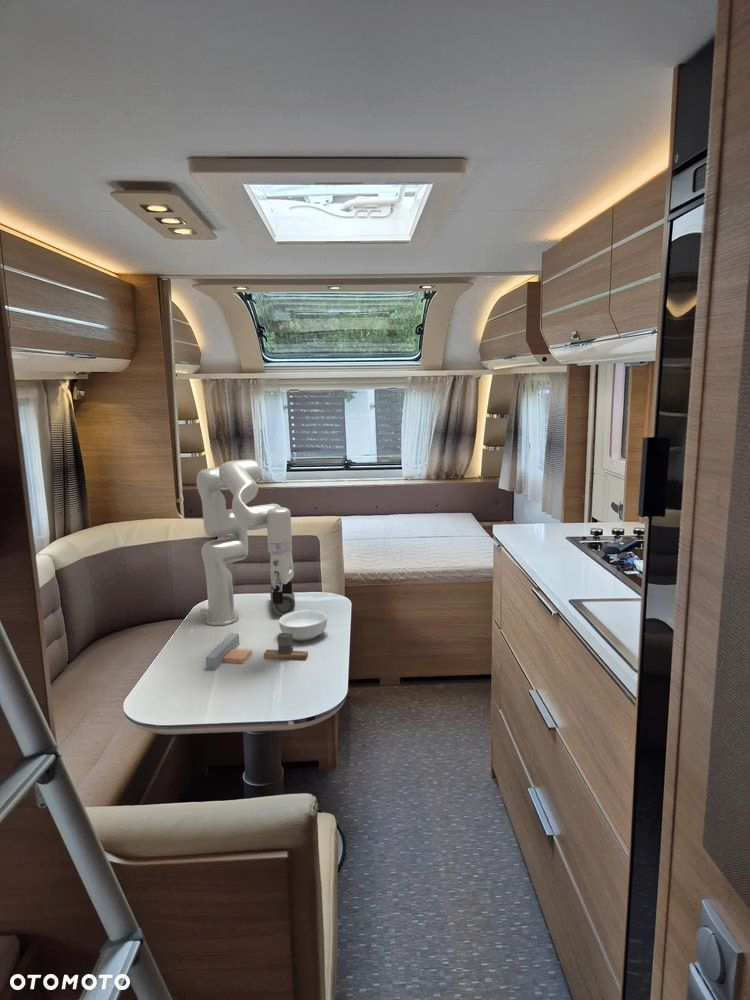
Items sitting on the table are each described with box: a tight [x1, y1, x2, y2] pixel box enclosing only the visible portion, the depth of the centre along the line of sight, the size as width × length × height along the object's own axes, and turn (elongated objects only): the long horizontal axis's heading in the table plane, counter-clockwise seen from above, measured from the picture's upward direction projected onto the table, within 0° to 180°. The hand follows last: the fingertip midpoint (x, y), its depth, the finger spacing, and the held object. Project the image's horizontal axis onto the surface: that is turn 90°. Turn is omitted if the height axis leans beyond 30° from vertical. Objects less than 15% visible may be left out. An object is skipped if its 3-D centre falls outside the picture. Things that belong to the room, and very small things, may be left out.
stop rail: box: [205, 632, 240, 671], centre depth 198 cm, size 3×20×4 cm, turn 171°
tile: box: [223, 648, 253, 665], centre depth 197 cm, size 7×7×2 cm
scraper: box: [263, 632, 309, 661], centre depth 196 cm, size 3×14×8 cm, turn 81°
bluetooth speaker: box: [269, 581, 296, 617], centre depth 242 cm, size 23×9×10 cm, turn 12°
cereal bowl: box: [278, 609, 328, 642], centre depth 213 cm, size 17×17×7 cm
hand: (282, 598), depth 193 cm, fingers open, 9 cm apart
